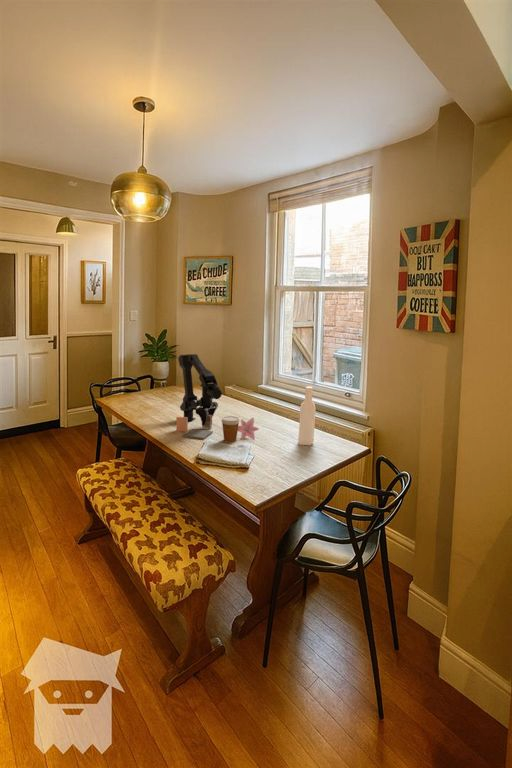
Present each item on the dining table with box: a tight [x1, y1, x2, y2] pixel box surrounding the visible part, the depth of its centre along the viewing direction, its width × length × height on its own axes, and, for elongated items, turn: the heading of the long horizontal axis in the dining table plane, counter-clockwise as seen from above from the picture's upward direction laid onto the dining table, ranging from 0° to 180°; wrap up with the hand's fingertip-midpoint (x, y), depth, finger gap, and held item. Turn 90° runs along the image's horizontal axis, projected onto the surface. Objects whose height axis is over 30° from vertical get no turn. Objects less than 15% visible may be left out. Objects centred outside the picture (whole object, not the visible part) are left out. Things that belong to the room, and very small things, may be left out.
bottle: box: [297, 386, 317, 446], centre depth 218 cm, size 8×8×30 cm
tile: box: [175, 415, 189, 433], centre depth 232 cm, size 2×6×8 cm, turn 74°
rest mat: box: [182, 428, 214, 440], centre depth 227 cm, size 12×12×1 cm
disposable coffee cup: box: [221, 415, 241, 443], centre depth 219 cm, size 10×10×12 cm
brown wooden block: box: [201, 415, 213, 431], centre depth 238 cm, size 3×5×8 cm, turn 74°
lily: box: [238, 417, 260, 440], centre depth 227 cm, size 12×12×10 cm
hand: (206, 422), depth 238 cm, fingers open, 9 cm apart
